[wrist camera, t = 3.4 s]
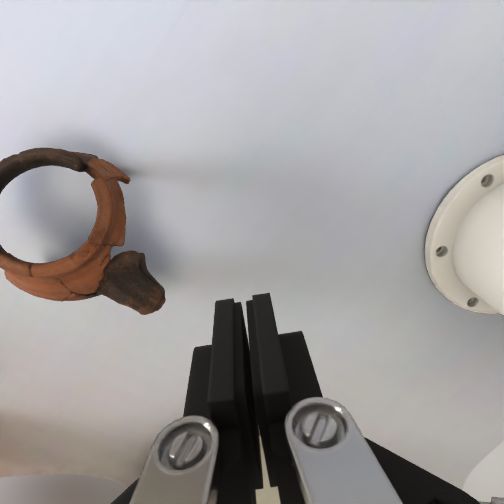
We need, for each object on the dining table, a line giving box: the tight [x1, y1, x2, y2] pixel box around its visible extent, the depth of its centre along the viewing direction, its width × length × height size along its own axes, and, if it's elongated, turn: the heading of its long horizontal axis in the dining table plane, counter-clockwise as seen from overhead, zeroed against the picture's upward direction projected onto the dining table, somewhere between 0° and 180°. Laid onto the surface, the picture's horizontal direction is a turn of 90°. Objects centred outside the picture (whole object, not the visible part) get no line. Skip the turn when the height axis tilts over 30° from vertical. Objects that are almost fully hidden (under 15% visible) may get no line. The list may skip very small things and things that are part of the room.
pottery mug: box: [0, 148, 165, 315], centre depth 22 cm, size 12×10×8 cm
